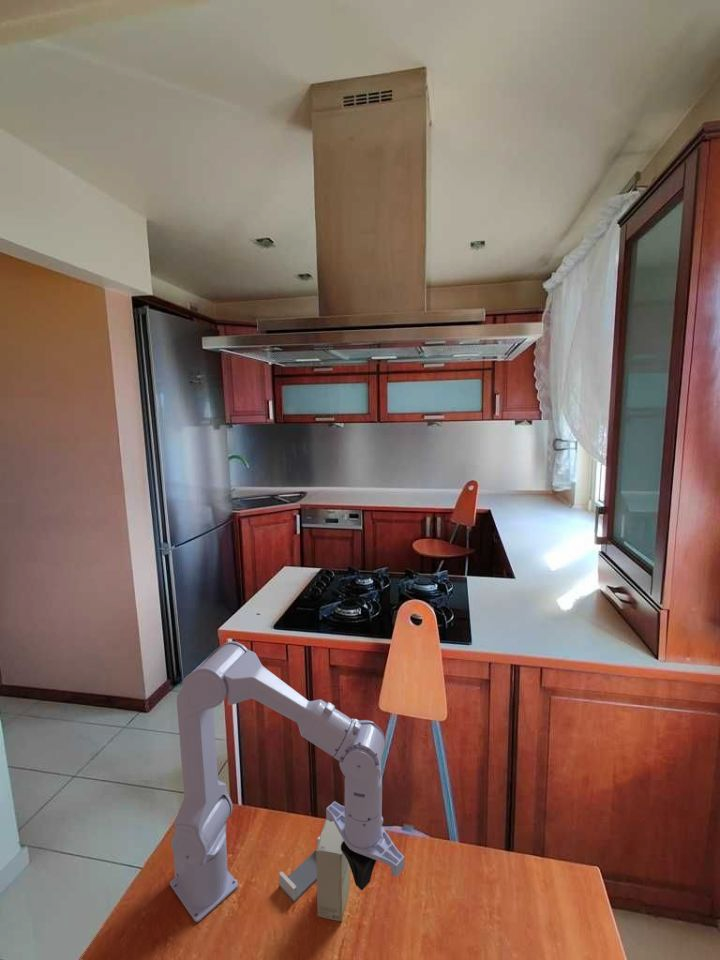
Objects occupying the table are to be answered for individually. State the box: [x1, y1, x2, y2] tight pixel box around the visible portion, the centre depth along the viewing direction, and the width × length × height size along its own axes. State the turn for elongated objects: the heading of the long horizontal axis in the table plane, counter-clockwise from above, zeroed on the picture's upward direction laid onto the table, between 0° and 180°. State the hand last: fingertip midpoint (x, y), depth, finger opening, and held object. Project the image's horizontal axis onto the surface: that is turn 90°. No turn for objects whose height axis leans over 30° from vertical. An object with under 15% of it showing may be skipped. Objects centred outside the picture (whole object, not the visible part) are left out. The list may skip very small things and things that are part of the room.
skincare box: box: [315, 819, 351, 922], centre depth 76 cm, size 6×4×12 cm
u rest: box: [278, 835, 321, 903], centre depth 81 cm, size 4×10×3 cm, turn 138°
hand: (362, 882), depth 71 cm, fingers closed
